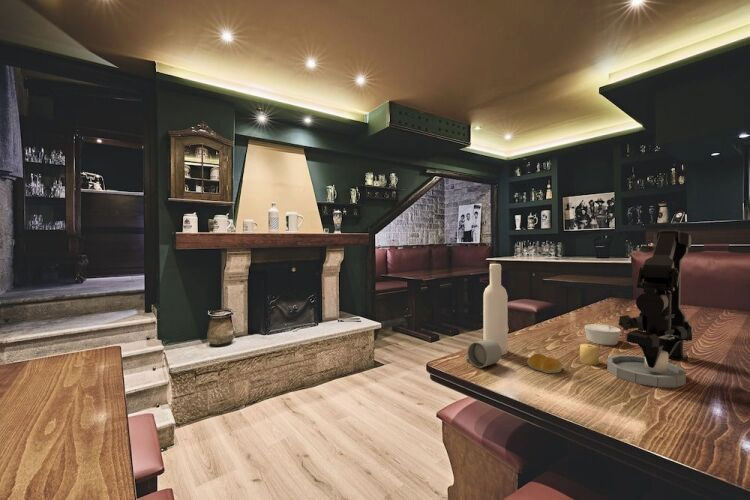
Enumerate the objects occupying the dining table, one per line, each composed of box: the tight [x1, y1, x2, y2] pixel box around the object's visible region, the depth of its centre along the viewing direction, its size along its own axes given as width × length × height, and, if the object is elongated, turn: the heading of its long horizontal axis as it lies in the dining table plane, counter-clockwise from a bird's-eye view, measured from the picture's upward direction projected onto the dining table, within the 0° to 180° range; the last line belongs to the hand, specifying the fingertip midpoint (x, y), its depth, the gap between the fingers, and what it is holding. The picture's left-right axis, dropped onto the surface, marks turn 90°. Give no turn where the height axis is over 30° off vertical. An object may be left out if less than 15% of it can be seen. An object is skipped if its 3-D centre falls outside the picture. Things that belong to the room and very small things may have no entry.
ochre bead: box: [579, 343, 600, 366], centre depth 108 cm, size 5×5×5 cm
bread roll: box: [526, 353, 563, 374], centre depth 104 cm, size 8×9×4 cm
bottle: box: [482, 263, 509, 356], centre depth 118 cm, size 8×8×30 cm
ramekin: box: [584, 323, 622, 346], centre depth 129 cm, size 11×11×5 cm
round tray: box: [606, 354, 687, 388], centre depth 98 cm, size 17×17×3 cm
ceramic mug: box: [464, 339, 503, 369], centre depth 108 cm, size 11×8×8 cm
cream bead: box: [645, 350, 669, 373], centre depth 95 cm, size 5×5×5 cm
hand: (656, 365), depth 95 cm, fingers closed on cream bead, 5 cm apart
